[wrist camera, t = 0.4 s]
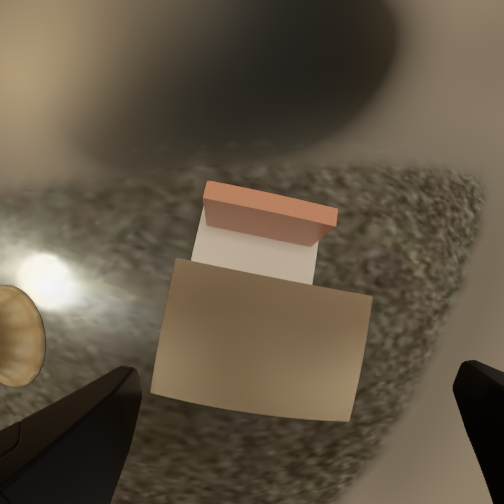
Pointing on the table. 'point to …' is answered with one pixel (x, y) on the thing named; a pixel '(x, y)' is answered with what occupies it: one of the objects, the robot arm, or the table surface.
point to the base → (261, 232)
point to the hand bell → (19, 338)
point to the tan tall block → (260, 344)
